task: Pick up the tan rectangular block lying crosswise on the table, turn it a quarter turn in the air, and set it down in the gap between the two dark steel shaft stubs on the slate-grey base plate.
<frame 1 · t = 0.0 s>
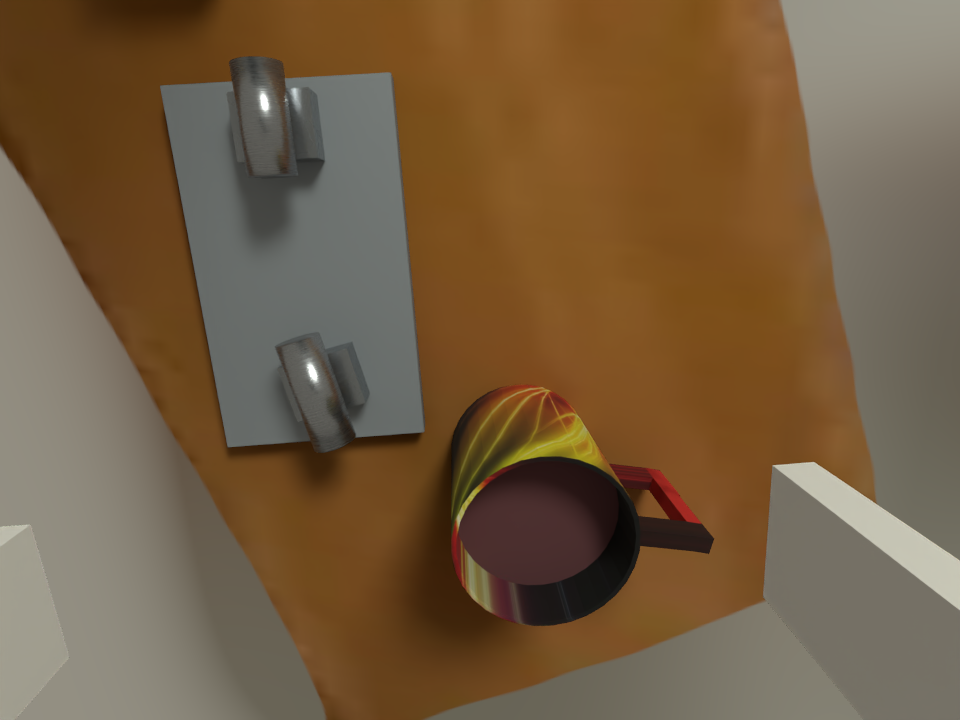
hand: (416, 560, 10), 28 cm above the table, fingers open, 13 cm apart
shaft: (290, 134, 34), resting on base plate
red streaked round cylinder: (547, 440, 40), on the table
base plate: (309, 271, 36), on the table
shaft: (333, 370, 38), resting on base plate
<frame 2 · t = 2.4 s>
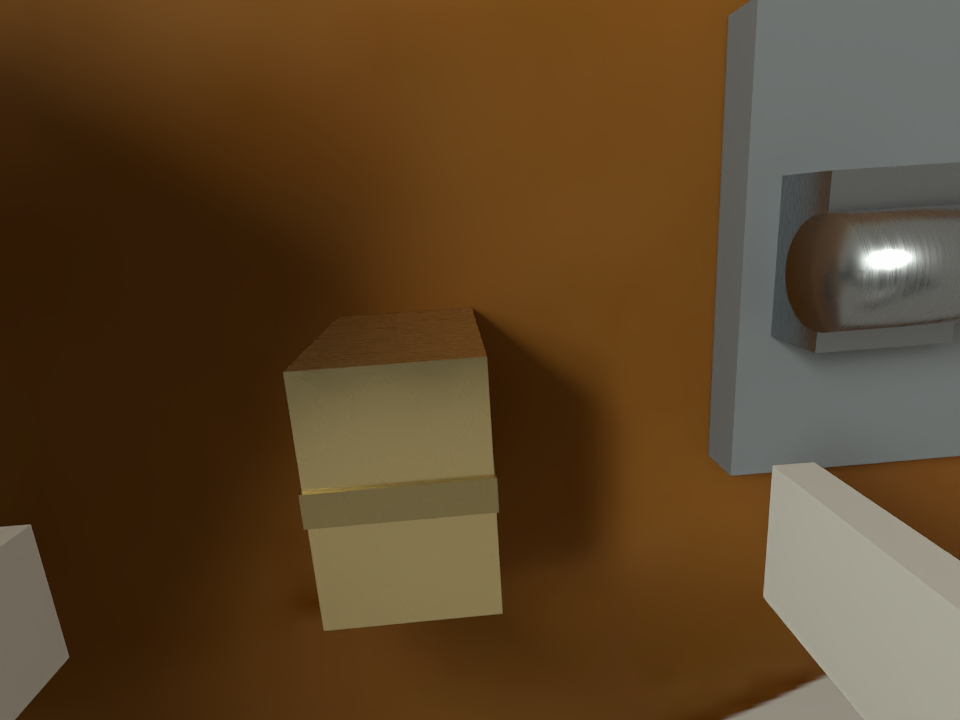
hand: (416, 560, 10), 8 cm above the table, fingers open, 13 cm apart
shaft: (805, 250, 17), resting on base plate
tan rectangular block: (414, 406, 18), on the table
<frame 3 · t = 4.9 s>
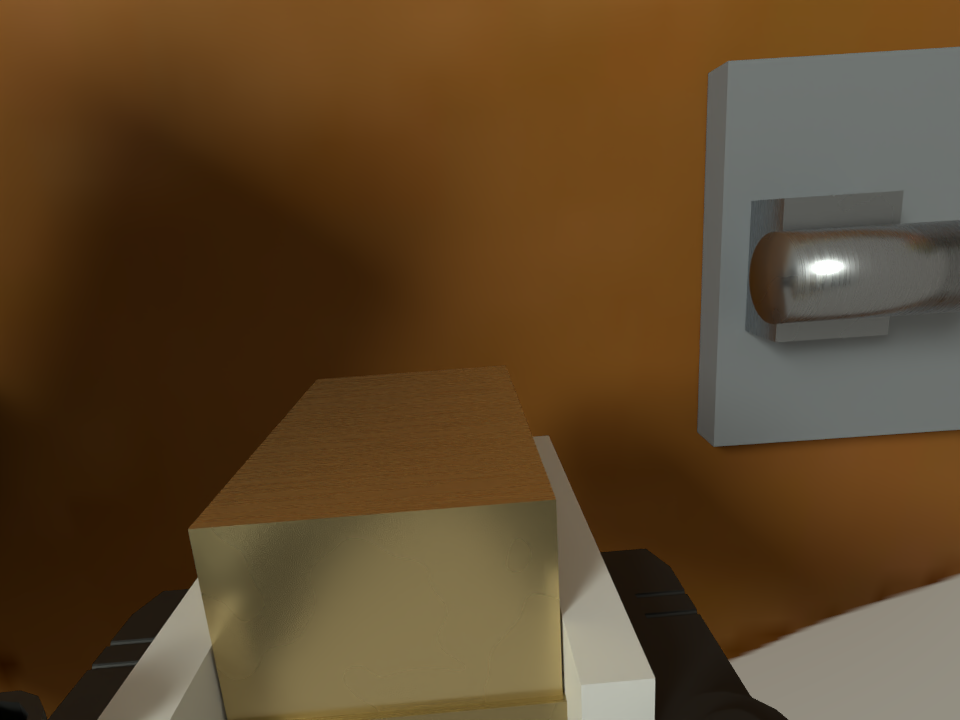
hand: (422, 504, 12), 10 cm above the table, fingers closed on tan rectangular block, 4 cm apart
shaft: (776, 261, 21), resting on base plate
tan rectangular block: (424, 500, 13), point 9 cm above the table, touching gripper
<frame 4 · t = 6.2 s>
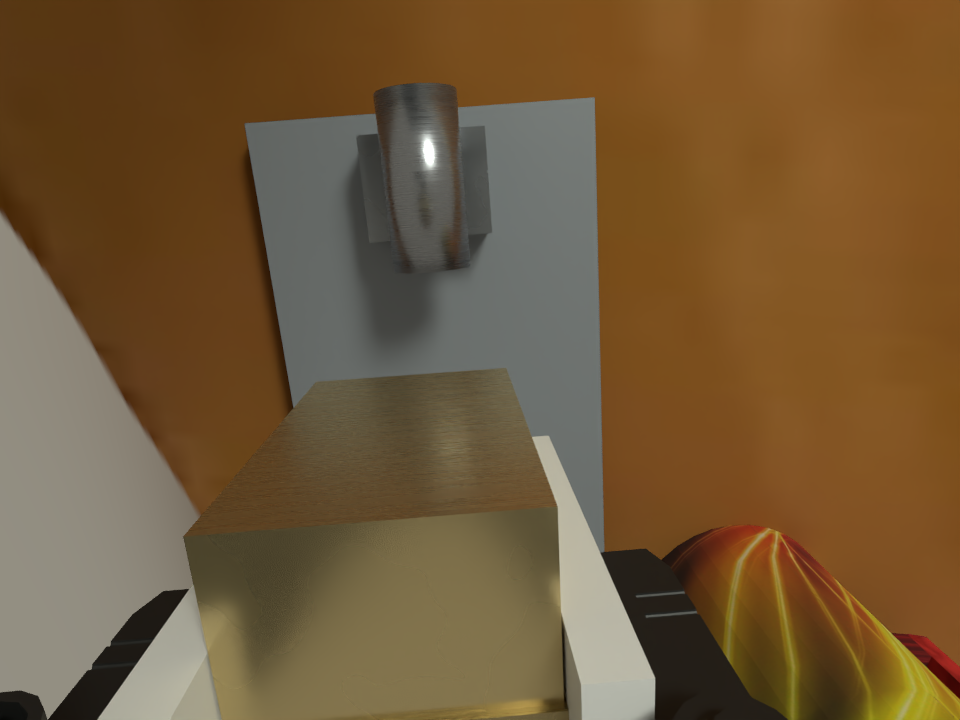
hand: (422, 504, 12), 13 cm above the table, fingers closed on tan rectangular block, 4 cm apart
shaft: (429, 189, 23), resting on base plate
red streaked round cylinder: (766, 593, 29), on the table
base plate: (448, 381, 25), on the table
tan rectangular block: (423, 504, 13), point 13 cm above the table, touching gripper
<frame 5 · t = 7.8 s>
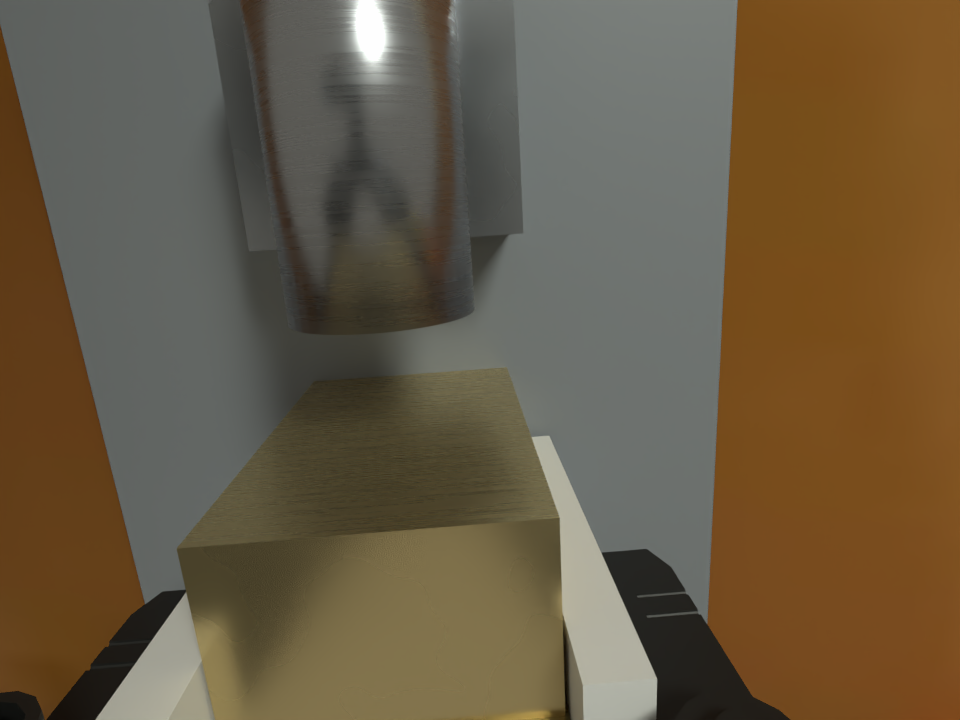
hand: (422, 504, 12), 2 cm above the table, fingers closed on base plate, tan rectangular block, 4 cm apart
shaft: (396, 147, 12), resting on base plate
base plate: (429, 498, 14), on the table
tan rectangular block: (423, 504, 12), point 2 cm above the table, touching base plate, gripper
when the fingers open (2 cm above the table, at t = 8.4 s): tan rectangular block stays where it is, resting on base plate.
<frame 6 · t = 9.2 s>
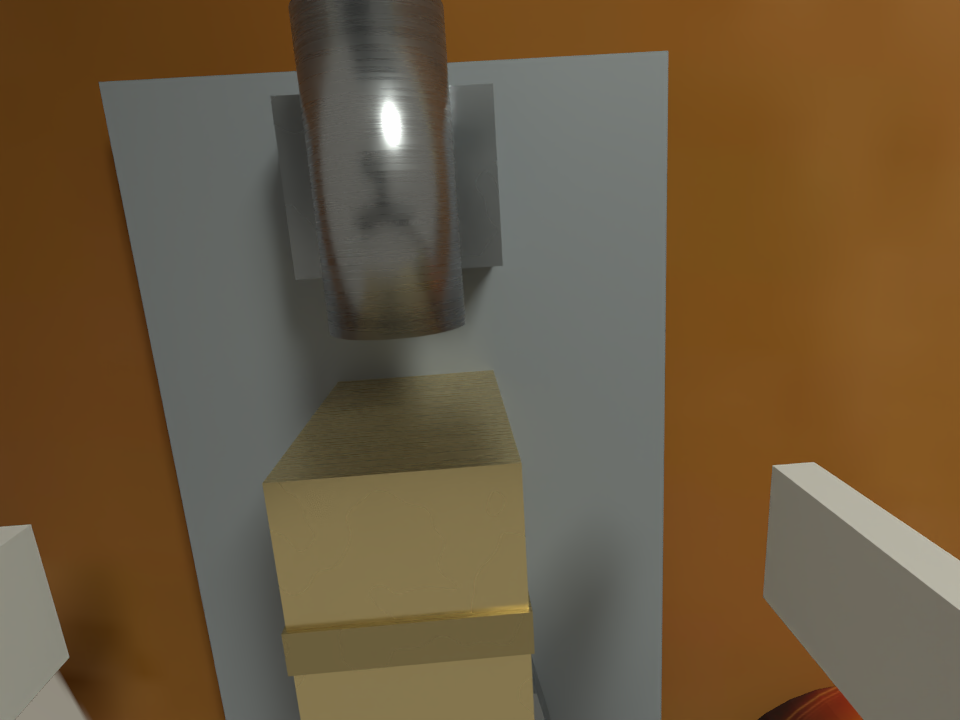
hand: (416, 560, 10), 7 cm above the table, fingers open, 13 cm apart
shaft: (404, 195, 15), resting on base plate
base plate: (430, 481, 17), on the table
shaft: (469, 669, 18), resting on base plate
tan rectangular block: (425, 483, 15), point 1 cm above the table, touching base plate
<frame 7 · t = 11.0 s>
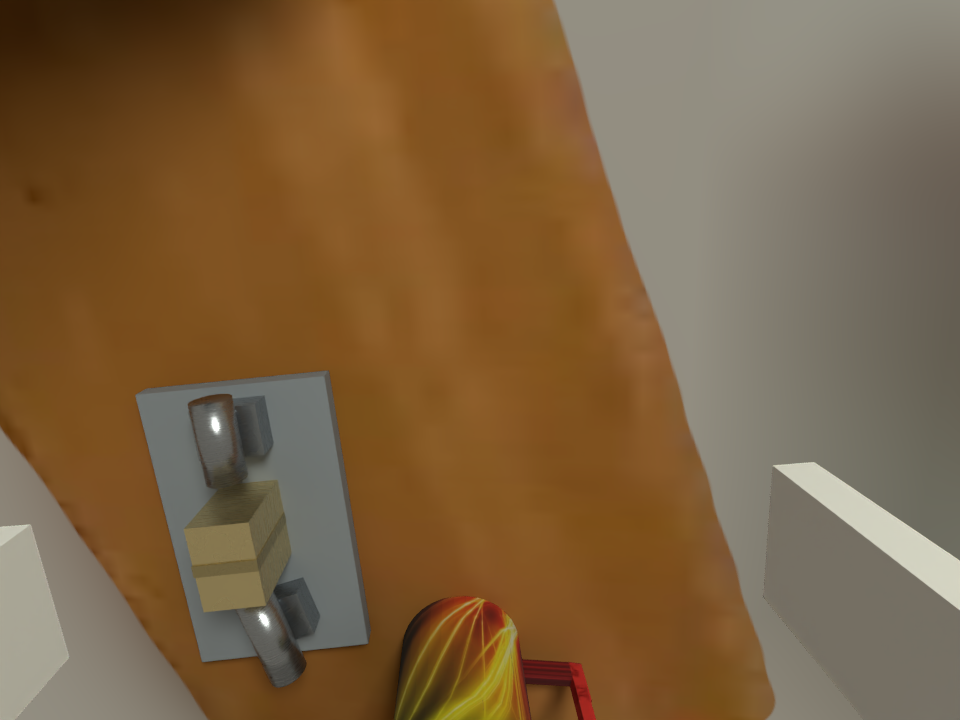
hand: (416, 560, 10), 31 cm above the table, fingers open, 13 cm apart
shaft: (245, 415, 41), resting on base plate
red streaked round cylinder: (485, 637, 47), on the table
base plate: (266, 517, 43), on the table
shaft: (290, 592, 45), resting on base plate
tan rectangular block: (257, 519, 41), point 1 cm above the table, touching base plate
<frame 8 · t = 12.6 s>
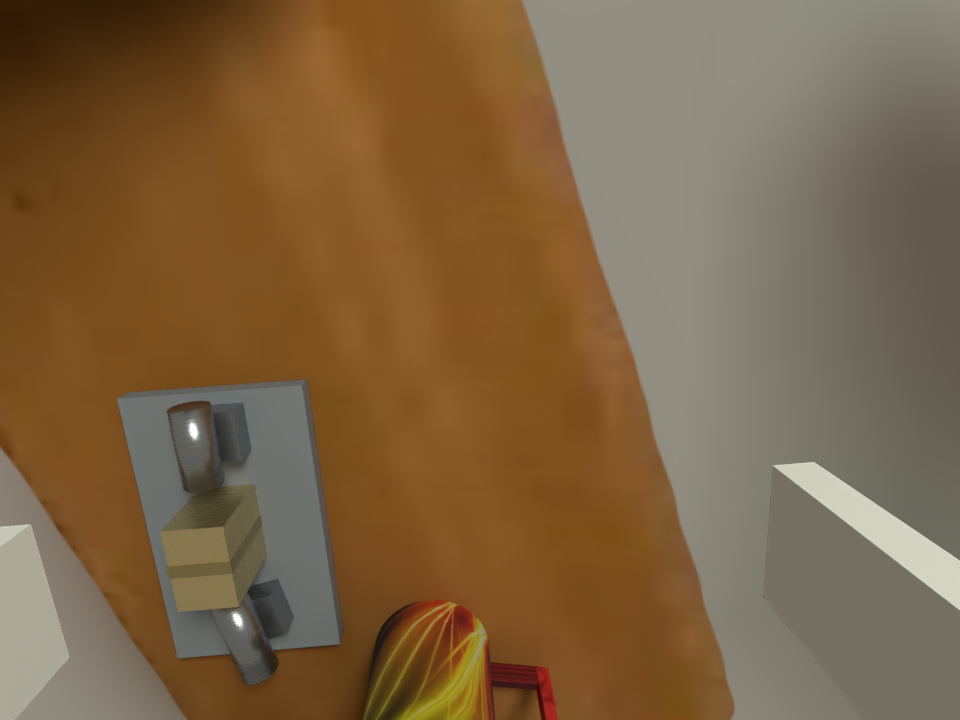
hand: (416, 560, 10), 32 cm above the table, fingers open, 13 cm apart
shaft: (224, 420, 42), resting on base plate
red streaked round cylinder: (456, 640, 48), on the table
base plate: (243, 519, 44), on the table
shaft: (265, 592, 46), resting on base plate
tan rectangular block: (234, 522, 43), point 1 cm above the table, touching base plate
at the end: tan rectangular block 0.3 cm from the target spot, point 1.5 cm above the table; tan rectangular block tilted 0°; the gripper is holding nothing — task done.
